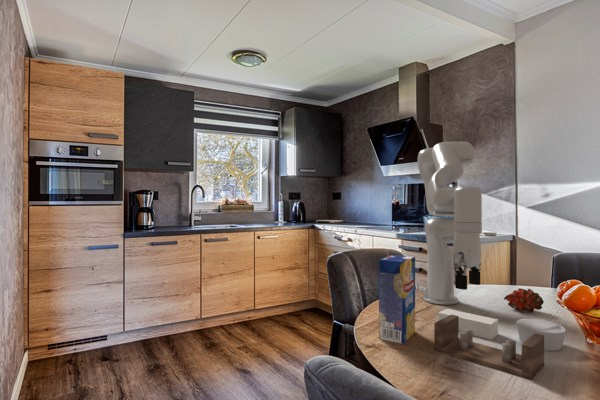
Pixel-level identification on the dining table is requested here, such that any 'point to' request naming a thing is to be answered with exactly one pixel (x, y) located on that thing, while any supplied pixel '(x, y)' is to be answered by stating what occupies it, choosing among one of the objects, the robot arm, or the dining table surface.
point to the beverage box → (396, 298)
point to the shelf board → (473, 323)
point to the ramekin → (542, 332)
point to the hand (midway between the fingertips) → (468, 286)
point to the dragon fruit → (524, 300)
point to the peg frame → (489, 349)
